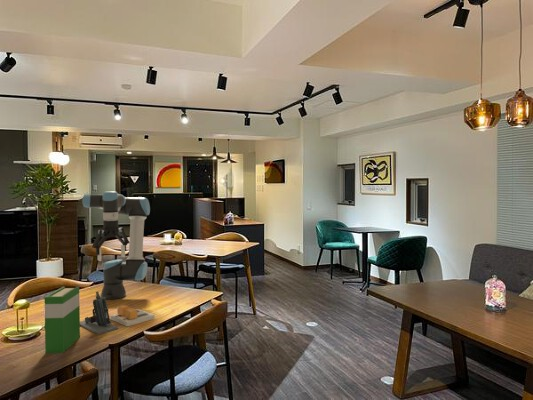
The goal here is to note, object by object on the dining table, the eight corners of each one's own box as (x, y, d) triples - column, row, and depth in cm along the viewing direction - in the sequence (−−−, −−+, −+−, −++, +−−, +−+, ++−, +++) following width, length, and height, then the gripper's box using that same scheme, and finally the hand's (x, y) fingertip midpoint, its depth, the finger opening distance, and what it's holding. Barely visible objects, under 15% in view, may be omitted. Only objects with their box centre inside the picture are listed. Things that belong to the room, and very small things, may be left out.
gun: (83, 294, 205) (104, 289, 199) (90, 326, 203) (111, 322, 198) (79, 295, 202) (100, 291, 196) (85, 328, 201) (107, 324, 195)
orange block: (125, 317, 207) (125, 309, 206) (132, 315, 210) (131, 307, 209) (130, 319, 203) (130, 311, 203) (137, 317, 206) (137, 309, 206)
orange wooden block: (117, 314, 212) (117, 306, 212) (124, 312, 215) (124, 304, 215) (122, 315, 209) (122, 308, 208) (129, 314, 212) (129, 306, 212)
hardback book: (63, 337, 185) (62, 286, 184) (79, 337, 186) (79, 286, 185) (45, 353, 167) (44, 297, 167) (63, 352, 168) (62, 296, 167)
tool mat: (77, 324, 203) (77, 322, 203) (96, 319, 211) (96, 317, 211) (98, 334, 189) (98, 332, 189) (117, 328, 196) (117, 326, 196)
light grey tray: (110, 319, 211) (110, 315, 211) (137, 312, 223) (137, 308, 223) (127, 326, 200) (127, 322, 200) (154, 318, 212) (154, 314, 212)
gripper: (91, 222, 202) (92, 263, 204) (135, 218, 221) (135, 256, 222) (84, 221, 207) (85, 261, 208) (128, 217, 226) (128, 254, 227)
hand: (111, 258), depth 215 cm, fingers open, 13 cm apart
